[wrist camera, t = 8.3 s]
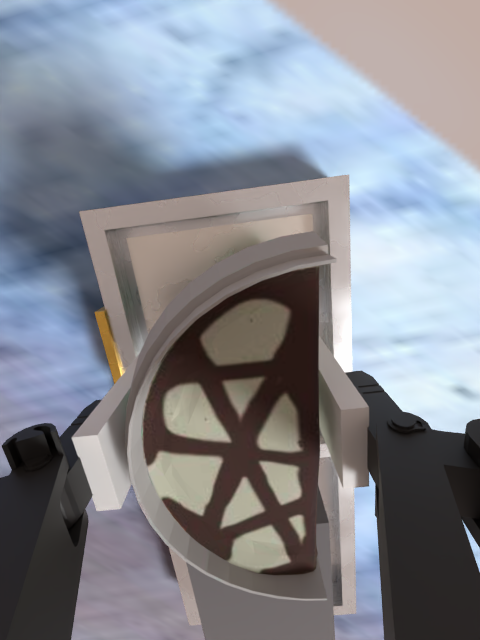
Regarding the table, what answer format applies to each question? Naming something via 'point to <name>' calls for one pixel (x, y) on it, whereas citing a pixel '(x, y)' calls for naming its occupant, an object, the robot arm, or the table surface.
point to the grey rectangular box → (267, 604)
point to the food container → (236, 420)
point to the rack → (198, 256)
